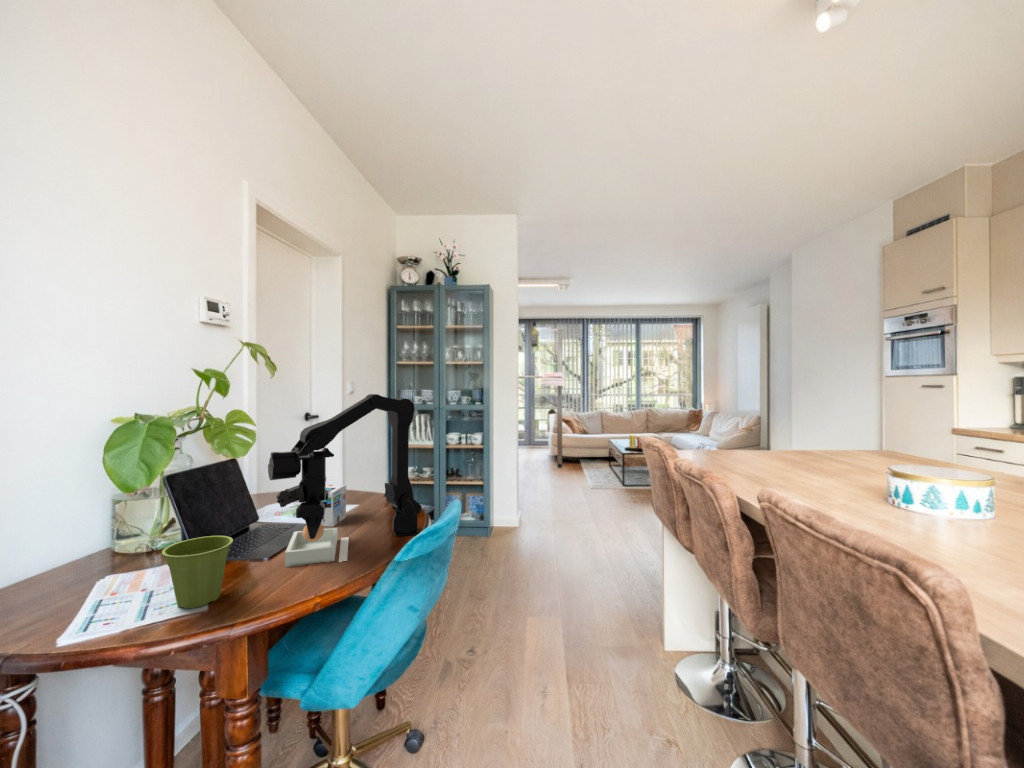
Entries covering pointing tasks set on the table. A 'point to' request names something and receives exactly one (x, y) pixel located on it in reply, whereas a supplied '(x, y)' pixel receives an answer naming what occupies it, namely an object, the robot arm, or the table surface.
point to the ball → (318, 535)
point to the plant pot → (197, 569)
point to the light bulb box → (335, 505)
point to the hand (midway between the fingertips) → (313, 535)
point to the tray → (311, 549)
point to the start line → (343, 549)
